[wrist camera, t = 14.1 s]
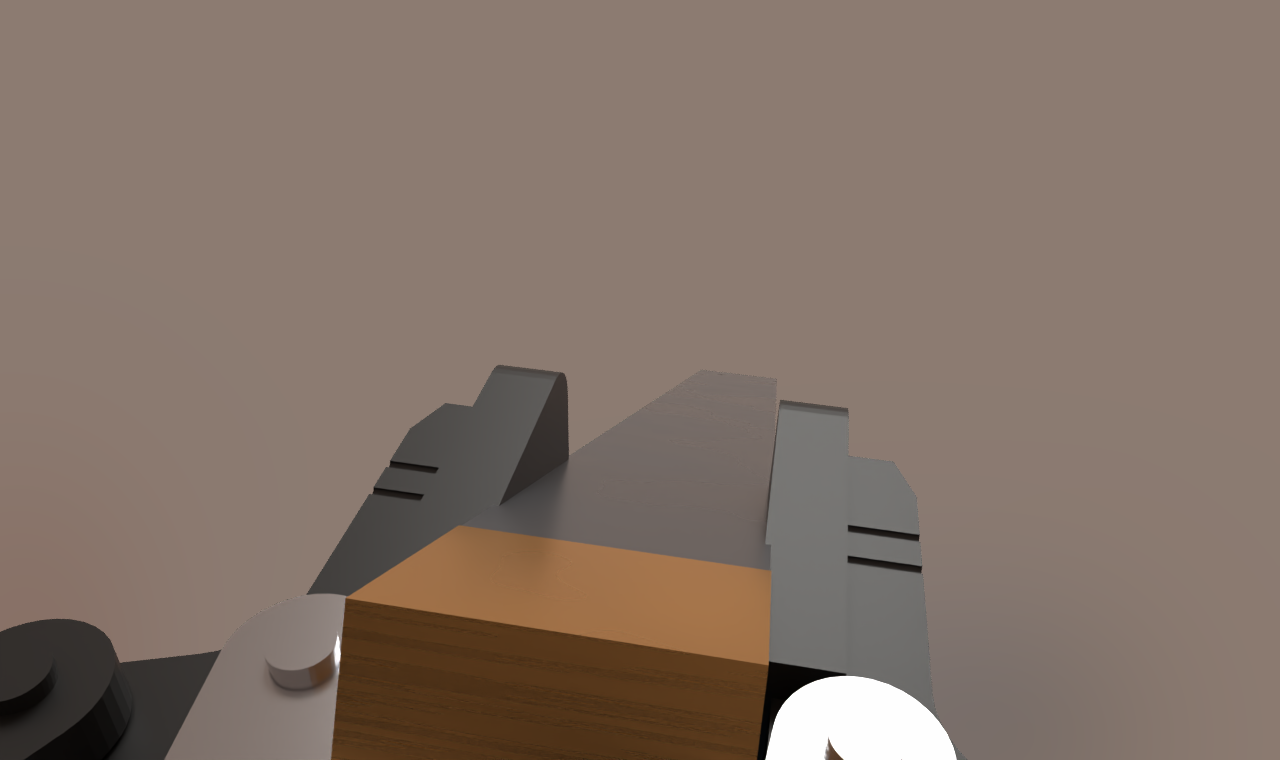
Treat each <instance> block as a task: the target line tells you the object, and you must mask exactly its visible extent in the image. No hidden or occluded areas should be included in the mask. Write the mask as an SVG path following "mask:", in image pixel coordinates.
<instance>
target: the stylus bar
mask: <svg viewBox="0 0 1280 760" xmlns="http://www.w3.org/2000/svg"><path fill="white" fill-rule="evenodd" d="M776 386H777V379H773V378H765V377H756V376H748V375H740V374H732V373H722V372H714V371H707V370H700V371H699V372H697V373H696V374H694V375H693V376H691V377H689V378H688V379H686V380H685V381H683V382H682V383H680V384H679V385H677V386H676V387H674V388H673V389H671V390H669V391H668V392H667V393H665V394H664V395H662V396H660V397H659V398H657V399H656V400H654V401H653V402H651V403H650V404H648V405H646V406H645V407H643V408H642V409H640V410H639V411H637V412H636V413H634V414H633V415H631V416H629V417H628V418H626V419H625V420H623V421H622V422H620V423H619V424H617V425H616V426H614V427H613V428H611V429H610V430H608V431H606V432H605V433H603V434H602V435H600V436H599V437H597V438H596V439H594V440H593V441H591V442H590V443H588V444H586V445H585V446H583V447H582V448H580V449H579V450H577V451H576V452H574V453H573V454H571V455H569V460H567V461H566V462H564V463H563V464H561V465H560V466H558V467H557V468H555V469H554V470H552V471H551V472H549V473H548V474H546V475H545V476H543V477H542V478H540V479H539V480H537V481H536V482H534V483H533V484H531V485H530V486H528V487H527V488H525V489H524V490H522V491H521V492H519V493H518V494H516V495H515V496H513V497H512V498H510V499H509V500H507V501H506V502H504V503H503V504H501V505H500V506H495V505H493V506H491V507H489V508H488V509H486V510H485V511H483V512H482V513H480V514H479V515H477V516H476V517H474V518H473V519H471V520H469V521H468V522H466V523H465V524H463V525H462V526H461V525H458V526H457V527H455V528H454V529H452V530H451V531H449V532H448V533H446V534H444V535H443V536H441V537H440V538H438V539H437V540H435V541H434V542H432V543H430V544H429V545H427V546H426V547H424V548H423V549H421V550H420V551H418V552H416V553H415V554H413V555H412V556H410V557H409V558H407V559H406V560H404V561H402V562H401V563H399V564H398V565H396V566H395V567H393V568H392V569H390V570H388V571H387V572H385V573H384V574H382V575H381V576H379V577H378V578H376V579H374V580H373V581H371V582H370V583H368V584H367V585H365V586H364V587H362V588H361V589H359V590H357V591H356V592H354V593H353V594H351V595H350V596H348V597H347V598H345V609H344V620H343V631H342V642H341V653H340V664H339V675H338V686H337V697H336V708H335V719H334V730H333V742H332V753H331V760H757V755H758V747H759V739H760V731H761V723H762V715H763V707H764V699H765V691H766V683H767V675H768V667H769V638H770V604H771V571H770V557H771V545H770V544H765V536H766V521H767V506H768V491H769V481H770V473H771V466H772V458H773V450H774V442H775V414H776Z"/></svg>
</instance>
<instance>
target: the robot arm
mask: <svg viewBox="0 0 1280 760" xmlns="http://www.w3.org/2000/svg"><path fill="white" fill-rule="evenodd" d="M567 392H568V391H567V381H566V377H565V374H564V373H561V372H553V371H545V370H536V369H528V368H520V367H512V366H504V365H498V366H496V367H495V368H494V370H493V371H492V373H491V375H490V376H489V378H488V380H487V382H486V384H485V385H484V387H483V389H482V391H481V393H480V394H479V396H478V398H477V400H476V402H475V403H474V405H473V407H470V406H463V405H455V404H447V403H445V404H444V405H443V406H441V407H440V408H438V409H437V410H435V411H434V412H433V413H431V414H430V415H429V416H427V417H426V418H425V419H423V420H422V421H420V422H419V423H418V424H416V425H415V426H413V427H412V428H410V430H409V432H408V433H407V435H406V436H405V438H404V439H403V441H402V443H401V444H400V446H399V448H398V449H397V451H396V452H395V454H394V455H393V457H392V459H391V460H390V466H389V467H386V468H385V470H384V472H383V473H382V475H381V476H380V478H379V480H378V481H377V483H376V484H375V486H374V491H373V494H369V495H368V497H367V499H366V500H365V502H364V503H363V506H362V507H361V508H360V510H359V511H358V513H357V515H356V516H355V518H354V519H353V521H352V523H351V524H350V526H349V528H348V529H347V531H346V532H345V534H344V535H343V537H342V539H341V540H340V542H339V544H338V545H337V547H336V548H335V550H334V552H333V553H332V555H331V556H330V558H329V559H328V561H327V563H326V564H325V566H324V568H323V569H322V571H321V572H320V574H319V575H318V577H317V579H316V580H315V582H314V584H313V585H312V587H311V588H310V590H309V592H308V593H307V595H304V596H300V597H295V598H291V599H287V600H285V601H282V602H279V603H277V604H274V605H272V606H270V607H268V608H266V609H264V610H262V611H260V612H259V613H257V614H256V615H254V616H253V617H251V618H250V619H249V620H247V621H246V622H245V623H244V624H243V625H241V626H240V627H239V628H238V629H237V630H236V631H235V632H234V634H233V635H232V636H231V637H230V638H229V639H228V641H227V642H226V644H225V645H224V647H223V649H222V650H219V651H214V652H208V653H203V654H195V655H186V656H177V657H168V658H159V659H150V660H141V661H132V662H123V663H120V662H119V660H118V657H117V655H116V653H115V650H114V648H113V645H112V643H111V641H110V639H109V638H108V637H107V636H106V635H105V633H104V632H102V631H101V630H99V629H98V628H97V627H95V626H92V625H90V624H88V623H85V622H81V621H76V620H70V619H50V620H40V621H35V622H30V623H25V624H22V625H18V626H15V627H12V628H9V629H6V630H4V631H1V632H0V760H331V753H332V742H333V730H334V719H335V708H336V697H337V686H338V675H339V664H340V653H341V642H342V631H343V620H344V609H345V598H347V597H348V596H350V595H351V594H353V593H354V592H356V591H357V590H359V589H361V588H362V587H364V586H365V585H367V584H368V583H370V582H371V581H373V580H374V579H376V578H378V577H379V576H381V575H382V574H384V573H385V572H387V571H388V570H390V569H392V568H393V567H395V566H396V565H398V564H399V563H401V562H402V561H404V560H406V559H407V558H409V557H410V556H412V555H413V554H415V553H416V552H418V551H420V550H421V549H423V548H424V547H426V546H427V545H429V544H430V543H432V542H434V541H435V540H437V539H438V538H440V537H441V536H443V535H444V534H446V533H448V532H449V531H451V530H452V529H454V528H455V527H457V526H458V525H461V526H462V525H463V524H465V523H466V522H468V521H469V520H471V519H473V518H474V517H476V516H477V515H479V514H480V513H482V512H483V511H485V510H486V509H488V508H489V507H491V506H493V505H495V506H500V505H501V504H503V503H504V502H506V501H507V500H509V499H510V498H512V497H513V496H515V495H516V494H518V493H519V492H521V491H522V490H524V489H525V488H527V487H528V486H530V485H531V484H533V483H534V482H536V481H537V480H539V479H540V478H542V477H543V476H545V475H546V474H548V473H549V472H551V471H552V470H554V469H555V468H557V467H558V466H560V465H561V464H563V463H564V462H566V461H567V460H569V447H568V444H569V443H568V393H567ZM848 419H849V416H848V408H841V407H833V406H825V405H817V404H808V403H801V402H792V401H784V400H780V405H779V413H778V420H777V428H776V435H775V442H774V450H773V458H772V466H771V473H770V481H769V491H768V506H767V521H766V536H765V544H770V545H771V557H770V571H771V604H770V638H769V667H768V675H767V683H766V691H765V699H764V707H763V715H762V723H761V731H760V739H759V747H758V755H757V760H967V759H966V758H965V757H964V756H963V755H962V753H960V751H959V750H958V749H957V748H956V746H955V745H954V744H953V742H952V741H951V740H950V738H949V737H948V735H947V734H946V732H945V730H944V728H943V726H942V724H941V722H940V720H939V718H938V715H937V712H936V709H935V705H934V699H933V694H932V681H931V671H930V670H931V669H930V657H929V646H928V633H927V620H926V608H925V595H924V583H923V574H921V570H922V558H921V546H920V542H919V535H920V534H919V521H918V509H917V497H916V495H915V494H914V492H913V491H912V489H911V488H910V486H909V485H908V483H907V482H906V480H905V479H904V477H903V476H902V474H901V473H900V471H899V470H898V468H897V466H896V465H895V463H894V462H891V461H883V460H875V459H868V458H860V457H853V456H848Z"/></svg>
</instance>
